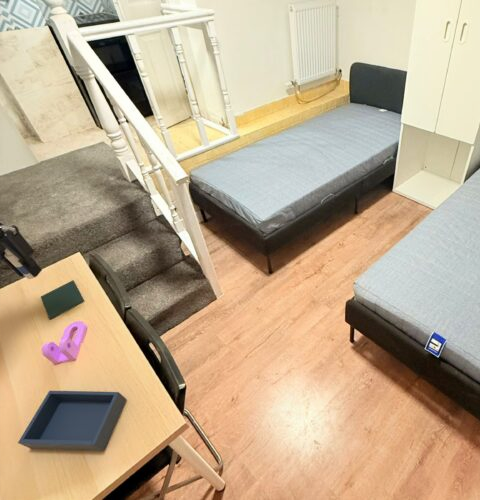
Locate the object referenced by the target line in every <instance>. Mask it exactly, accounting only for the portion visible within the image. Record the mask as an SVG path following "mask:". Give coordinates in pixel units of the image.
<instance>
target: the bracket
mask: <svg viewBox="0 0 480 500" xmlns="http://www.w3.org/2000/svg"><path fill="white" fill-rule="evenodd" d="M87 330H88V326H87V324H86V323H84V322H83V321H81V320H76V321H74V322H71V323H70V324H68V325H67V326H65V328H64V330H63V333H62V336H61V338H60V341H59V344H57V343H55V342H53V341H50V342H46V343H44V344H43V345H42V347H41V353H42V354H41V355H42V356H43V357H45V359H47V360H48V361H50V363H52V364H53V365H58V364H63V363H67V362H72V361H77V359H78V356H79V352H80V349H81V346H82V343H84V342H85V341H84V340H85V337H86V333H87ZM74 332H75V336H74V339H73V340H72V338H73V335H74Z"/></svg>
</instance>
